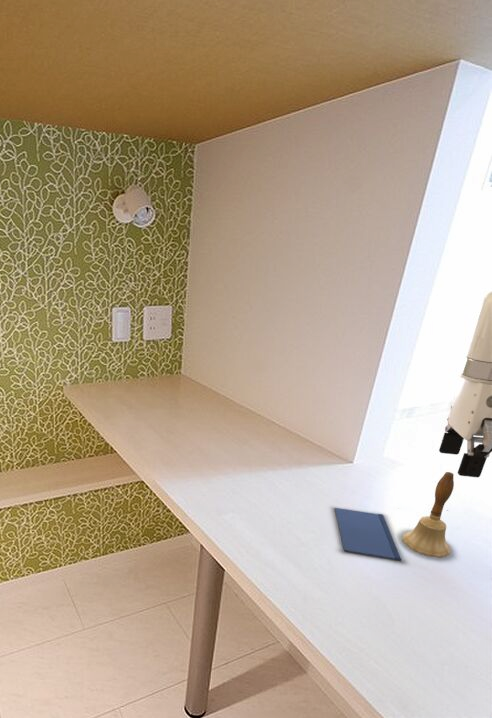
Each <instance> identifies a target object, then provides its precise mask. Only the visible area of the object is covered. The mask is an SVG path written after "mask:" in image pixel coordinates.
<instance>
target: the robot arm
mask: <svg viewBox="0 0 492 718" xmlns="http://www.w3.org/2000/svg"><path fill="white" fill-rule="evenodd" d="M459 377H460V378H461V380H460V383H459V384H458V388H457V390H456V392H455V395H454V398H453V401H452V403H451V405H450V407H449V414H448V417H447V425H446V426H445V427H444V433H443V437H442V440H441V442H440V447H439V449H438V451H439V453H440V454H447V455H455V456H456V455H460V451H461V449H462V446H463V443H464V440H465V441H466V449H467V450H466V452H463V455H462V458H461V461H460V464H459V467H458V470H457V474H458V476H461V477H468V478H469V477H470V478H480V477H481V475H482V472H483V469H484V467H485V464H486V461H487V459H488V458H489V457H490V454H491V453H492V291H490V292H488V293H487V294H486V295H485V296H484V298H483V299H482V302H481V306H480V309H479V312H478V316H477V319H476V322H475V325H474V328H473V332H472V334H471V338H470V342H469V345H468V348H467V351H466V353H465V357H464V361H463V364H462V367H461V370H460V373H459ZM475 443H478V444H477V445H476V446H475Z"/></svg>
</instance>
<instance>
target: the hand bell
mask: <svg viewBox="0 0 492 718" xmlns="http://www.w3.org/2000/svg"><path fill="white" fill-rule="evenodd" d="M454 486H455V482H454V473H453V472H451V471H445V473H444V474H443V476H441V478H440V479H439V480H438V482H437V484H436V487H435V489H434V490H435V491H434V504H433V506H432V508H431V511H430V515H429V516H422V517H420V518H419V519H418V523H417V524H416V526H415V527H414V528H413V529H411V530H409V531H407V532H405V533H404V534H403V535H402V537H401V539H402V542H403V544H404V545H405V546H406V547H407V548H409V549H410V550H412V551H414V552H416V553H417V554H420V555H423V556H426V557H430V558H445V557H447V556H449V555H450V554H451V547H450V545H449V543H448V542H447V540H446V530H447V524H446V523H445V521H443V520H442V519H441V518H442V513H443V510H444V506H445V504H446V503H447V501H448V500H449V499H450V497H451V495H452V493H453V491H454Z"/></svg>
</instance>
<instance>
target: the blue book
mask: <svg viewBox="0 0 492 718" xmlns="http://www.w3.org/2000/svg"><path fill="white" fill-rule="evenodd" d="M334 512H335V516H336V521H337V525H338V530H339V534H340V539H341V543H342V547H343V551H344V552H347V553H353V554H360V555H366V556H372V557H377V558H384V559H389V560H395V561H401V562H402V558H401V555H400V553H399V551H398V548H397V546H396V542H395V540H394V538H393V536H392V533H391V531H390V528H389V526H388V523H387V520H386V518H385V516H384V514H383V513H374V512H373V513H372V512H367V511H366V512H365V511H359V510H353V509H346V508H338V507H334Z"/></svg>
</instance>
